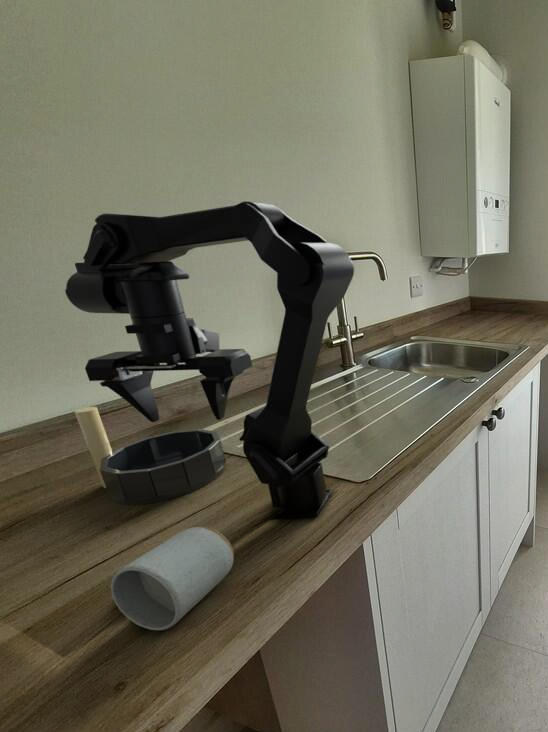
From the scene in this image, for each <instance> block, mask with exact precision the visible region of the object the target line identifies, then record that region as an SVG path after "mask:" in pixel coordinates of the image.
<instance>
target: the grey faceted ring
mask: <svg viewBox="0 0 548 732" xmlns="http://www.w3.org/2000/svg"><path fill="white" fill-rule="evenodd" d="M74 414H75V416H76V419H77V423H78V425H79V427H80V430H81V432H82V433H81V434H82V435H83V438H84V440H85V443H86V446H87V448H88V451H89V453H90V454H89V455H90V456H91V459H92V462H93V465H94V467H95V470H96V472H97V473H96V474H97V475H98V478H99V480H100V484H101V486H102V488H104V489H106V491H107V493H108V496H110V497H111V499H112V500H113V501H114V502H115V503H118V504H121V505H129V506H138V505H139V506H140V505H149V504H154V503H159V502H164V501H169V500H171V499H175V498H178V497H183V496H185V495H187V494H189V493H192V492H194V491H197V490H199V489H201V488H204V487H205V486H207V485H209V484H211V483H212V482H213V481H215V480H217V478H219V477H220V476H221V475H222V474H223V473H224V472H225V470H226V469H227V460H226V455H225V451H224V449H223V444H222V441H221V438H220V436H219V435H220V434H219V433H218V432H217V431H214V430H208V429H203V428H197V429H183V430H175V431H170V432H165V433H161V434H155V435H152V436H147V437H145V438H142V439H140V440H136V441H133V442H131V443H129V444H126V445H123V446H120V447H118V448H117V449H115V450H114V451H113V449H112V446H111V442H110V440H109V437H108V435H107V432H106V429H105V426H104V423H103V420H102V418H101V415H100V412H99V410H98V407H97V406H87V407H86V406H85V407H81V408H78V409H76V410H74Z"/></svg>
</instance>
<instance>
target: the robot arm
mask: <svg viewBox="0 0 548 732" xmlns="http://www.w3.org/2000/svg"><path fill="white" fill-rule="evenodd" d="M94 223H96V224H94V225H93V227H92V230H91V234H90V236H89V237H90V238H89V241H88V245H87V249H86V251H85V253H84V255H83V257H82V259H83V260H84V261H83V262H75V263H74V266H75V269H76V272H75V273H73V274H72V275H70V277H69V278H67V281H66V285H65V287H66V288H65V289H64V291H65V295H66V297H67V299H68V301H69V302H70V303H71V304H72V305H73V306H74V307H75V308H77V309H78V310H81V311H83V312H86V313H90V314H91V313H92V314H120V315H121V314H126V315H129V316H130V320H131V322H132V324H128V325H125V326H124V329H125V331H126V334H128V335H131V334H134V335H135V336H136V340H137V343H138V346H139V349H140V350H133V351H132V350H131V351H130V350H129V351H114V352H110V353H107V354H103V355H100V356H97V357H93V358H89V359H88V361H87V363H86V364H85V367H84V369H85V373H86V375H87V378H88V381H89V382H99V384H100V387H102V388H103V387H107V388H108V389H110V390H111V391H113V392H114V393H115V394H116V395H118V396H119V397H121V398H122V399H123V400H125V401H126V402H127V403H128V404H130V405H131V406H132V407H133V408H134V409H135V410H137V411H138V412H139V413H140V414H141V415H142V416H143V417H145V418H146V419H147V420H148V421H149V422H151V423H156V422H158V421H160V415H159V409H158V405H157V402H156V398H155V395H154V391H153V388H152V379H153V375H154V372H164V371H166V372H167V371H170V372H171V371H198V372H199V374H201V375H202V376H203V377H205V378H202V379H200V380H199V383H200V385H201V387H202V390H203V392H204V395H205V397H206V400H207V402H208V405H209V407H210V409H211V412H212V414H213V416H214V417H215V419H216V420H217V421H221V420H223V419H224V418H225V414H226V410H227V409H226V408H227V404H228V397H229V393H230V389H231V386H232V383H233V381H234V380H235V378H236V377H238V376H240V375H242V374H243V373H244V371H245V370H247V369H250V368H252V367H253V361H252V357H251V355H250V354H249V353H248V352H247V351H246V350H245V349H244V348H224V349H223V348H221V349H220V332H218V331H217V332H216V331H213V330H208V329H202V328H198V326H197V323H196V321H195V320H194V318H193V317H187V315H186V312H185V308H184V304H183V301H182V300H183V299H182V296H181V292H180V289H179V285H178V281H181V280H188V279H190V274H189V273H188V272H186V271H185V270H184V269H182V268H180V267H178V266H177V265H175V264H174V262H173V261H172V260H175V259H178V258H180V257H184V256H185V255H187V253H188V252H189V251H191V250H193V249H196V248H202V247H203V248H204V247H211V246H218V245H225V244H233V243H239V242H246V241H247V242H250V243H251V244H252V246H253V249H254V251H255V252H256V254H257V255H258V257H259V258H260V260H261V261H262V262H263V263H264V264H266V265H267V266H268V267H270V268H271V269H272V270H273V271H274V272H275V273H276V288H277V292H278V294H279V297H280V299H281V302H282V304H283V306H284V316H283V321H282V326H281V331H280V336H279V340H278V345H277V351H276V354H275V360H274V365H273V370H272V375H271V379H270V384H269V390H268V395H267V399H266V404H265V405H264V406H262V407H260V408H258V409H255V410H253V411H251V412H249V413H247V414H246V415H245V418H244V419H243V432H242V434H241V436H240V437H239V441H240V442H243V443H242V451H243V454H244V455H245V458H246V459H247V461H248V463H249V465H250V467H251V468H252V471H253V472H254V473H255V475H256V477H257V478H258V481H259V482H260V483H261V484H264V485H267V486H268V491H269V496H270V501H271V504H272V507H275V508H281V509H282V511H280V512H279V513H277V514H276V515H274V516H273V517H272V518H271V519H272V520H281V519H282V520H284V519H305V518H306V519H307V518H316V517H318V516H319V515H320V513H321V511H322V510H323V508H324V506H326V503H327V502H328V500H329V498H330V496H332V489H327V487H326V486H327V485H326V480H325V474H324V468H323V463H322V461H323V460H325V459H326V458H328V455H329V449H330V446H329V445H328V444H327V443H326V442H325V441H324V440H323V439H322V438H320V436H318V435H317V434H316V433H315V432H314V431H313V430H312V425H313V424H312V423H313V421H312V418H311V416H310V414H309V412H308V410H307V404H308V400H309V397H310V391H311V388H312V384H313V380H314V376H315V372H316V368H317V363H318V361H319V355H320V352H321V347H322V344H323V338H324V335H325V331H326V326H327V323H328V319H329V317H330V315H332V313H333V312H334V311H335V309H336V308H337V307H338V305H339V304H340V303H341V301H342V300H344V297H345V295H346V293H347V291H348V289H349V287H350V285H351V282H352V280H353V278H354V276H355V275H354V273H355V266H354V262H353V261H352V259H351V258H350V255H349V254H348V253H347V251H346V250H345V249H344V248H342V247H341V246H340V245H338V244H336V243H333V242H329V241H328V240H326V239H325V237H323V236H321V235H320V234H318V233H316V232H315V231H313V230H312V229H310V228H308V227H306V226H304V225H303V224H301V223H299V222H297V220H295V219H293V218H291V216H289V215H288V214H287V213H285V212H284V211H283V210H282V209H280V208H279V207H277V206H276V205H274V204H271V203H263V202H255V201H245V200H244V201H240V203H237V204H234V205H229V206H222V207H216V208H209V209H203V210H198V211H189V212H184V213H178V214H170V215H165V216H151V215H150V216H149V215H137V214H136V215H135V214H121V213H102V214H99V215H97V216H96V218H95V220H94ZM205 353H207V354H205ZM198 355H201V356H198Z"/></svg>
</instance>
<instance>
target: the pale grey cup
mask: <svg viewBox="0 0 548 732" xmlns="http://www.w3.org/2000/svg"><path fill="white" fill-rule="evenodd" d="M233 549H234V548H233V546H232V544H231V543H230V541H229V540H228V538H227V537H226V536H224V534H222V533H221V532H219V531H218V530H216V529H215V528H211V527H209V526H204V525H198V526H193V527H190V528H187V529H184V530H183V531H179V532H178V533H176V534H175V535H173V536H171V537H170V538H168V539H167V540H166V541H164V542H162V543H161V544H159V545H158V546H157V545H156V547H154V548H152V549H151V550H149V551H148V552H146V553H144V554H142V555H141V556H139V557H138V558H136V559H134V560H133V561H131V562H129V563H128V564H126V565H125V566H123V567H121V568H120V569H118V571H117V572H116V573H115V574H114V575H113V576H112V578H111V581H110V593H111V598H112V599H113V602H114V603H115V605H116V606H117V608H118V610H119V611H120V612H121V613H122V614H123V615H124V616H125V617H126V618H127V619H128V620H130V622H132V623H134V624H135V625H137V626H139V627H141V628H144V629H148V630H150V631H165V630H168V629H170V628H172V627H173V626H175V625H176V624H177V623H178V622H179V621H180V620H182V618H183V617H184V616H186V614H188V613H189V612H190V611H191V610H192V608H194V607H195V606H196V605H197V604H199V602H201V600H202V599H203V598H204V597H206V596H207V595H208V594H209V593H210V592H211V591H212V590H213V589H215V588H216V586H218V585H219V584H220V583H221V582H222V581H223V580H224V579H225V578H226V576H227V575H228V574H229V572H230V571H231V569H232V567H233V566H234V562H235V552H234V550H233Z"/></svg>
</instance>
